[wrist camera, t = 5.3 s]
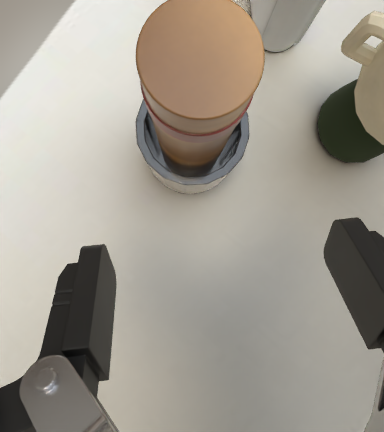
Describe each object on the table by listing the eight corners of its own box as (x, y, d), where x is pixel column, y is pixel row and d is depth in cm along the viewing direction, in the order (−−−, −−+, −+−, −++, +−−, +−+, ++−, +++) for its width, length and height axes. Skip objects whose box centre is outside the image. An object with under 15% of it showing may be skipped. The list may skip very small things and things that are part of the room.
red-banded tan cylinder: (203, 111, 27) (231, -33, 12) (229, 163, 27) (290, 86, 12) (151, 135, 26) (110, 22, 11) (176, 188, 26) (169, 144, 11)
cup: (210, 94, 27) (218, 54, 21) (247, 171, 27) (268, 154, 21) (132, 130, 27) (116, 101, 20) (170, 208, 27) (166, 203, 20)
